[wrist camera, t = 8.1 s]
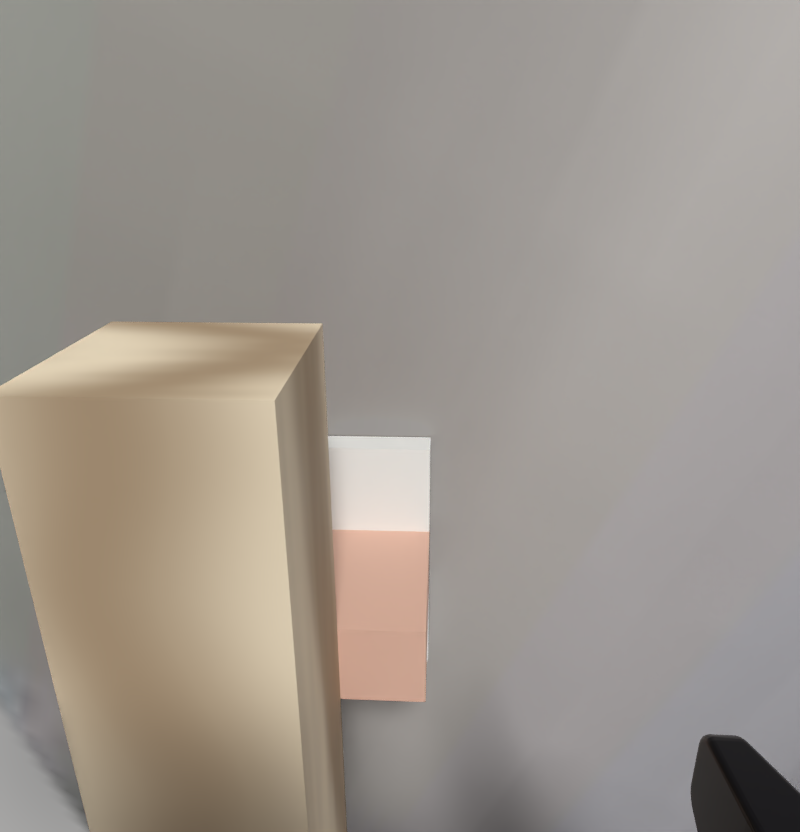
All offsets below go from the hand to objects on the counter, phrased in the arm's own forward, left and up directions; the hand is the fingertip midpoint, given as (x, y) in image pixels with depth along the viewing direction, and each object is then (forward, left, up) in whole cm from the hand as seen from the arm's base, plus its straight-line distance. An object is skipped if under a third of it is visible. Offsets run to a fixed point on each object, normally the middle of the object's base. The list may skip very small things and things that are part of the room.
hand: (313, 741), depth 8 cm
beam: (+3, +5, -6) cm, 8 cm away
